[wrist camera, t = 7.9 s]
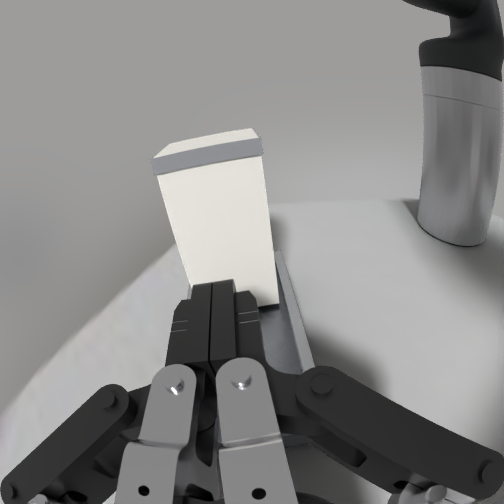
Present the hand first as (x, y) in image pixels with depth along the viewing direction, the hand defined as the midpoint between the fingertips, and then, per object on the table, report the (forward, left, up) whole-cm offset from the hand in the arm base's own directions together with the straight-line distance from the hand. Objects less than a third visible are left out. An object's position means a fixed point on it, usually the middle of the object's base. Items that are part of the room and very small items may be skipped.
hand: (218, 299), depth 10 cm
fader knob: (-6, -3, -5) cm, 9 cm away
